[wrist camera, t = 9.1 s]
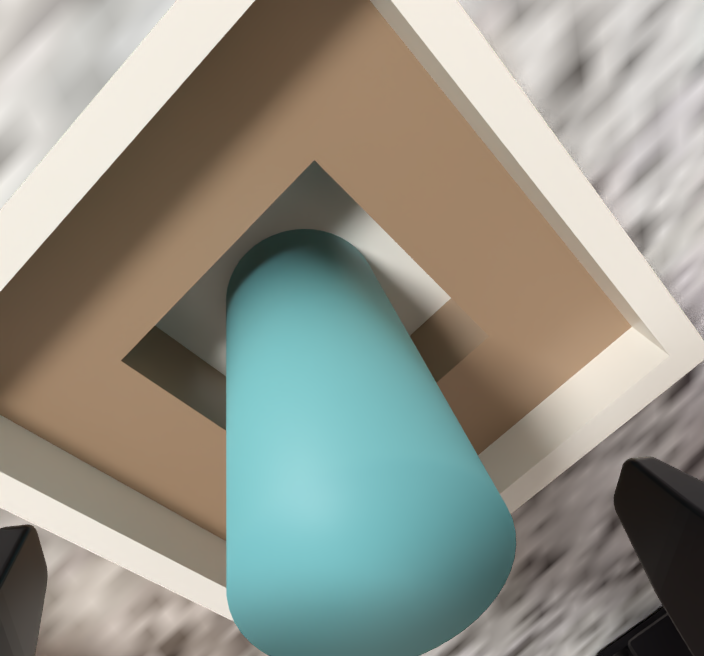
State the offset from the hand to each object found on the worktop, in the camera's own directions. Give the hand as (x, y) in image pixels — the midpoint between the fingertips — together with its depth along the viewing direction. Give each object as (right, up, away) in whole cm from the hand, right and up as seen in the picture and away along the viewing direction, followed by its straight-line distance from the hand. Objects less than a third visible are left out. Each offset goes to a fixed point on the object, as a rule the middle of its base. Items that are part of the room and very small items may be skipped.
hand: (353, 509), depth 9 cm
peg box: (-2, +4, +8) cm, 9 cm away
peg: (-1, +3, +7) cm, 8 cm away
